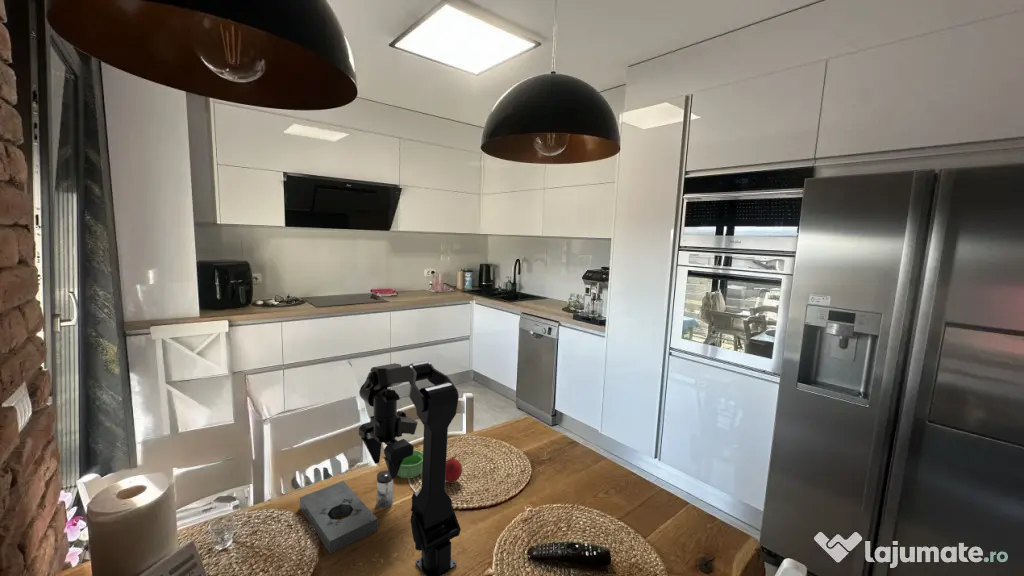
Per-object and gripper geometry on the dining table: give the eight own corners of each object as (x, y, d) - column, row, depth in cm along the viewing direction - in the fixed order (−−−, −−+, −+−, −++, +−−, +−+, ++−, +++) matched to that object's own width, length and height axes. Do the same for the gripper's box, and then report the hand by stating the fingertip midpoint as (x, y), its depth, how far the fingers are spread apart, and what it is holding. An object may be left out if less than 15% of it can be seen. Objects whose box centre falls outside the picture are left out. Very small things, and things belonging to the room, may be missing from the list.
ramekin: (416, 460, 128) (416, 446, 127) (430, 473, 121) (430, 459, 120) (389, 469, 122) (389, 455, 121) (401, 483, 115) (401, 469, 115)
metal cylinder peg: (395, 503, 106) (395, 475, 105) (381, 510, 103) (381, 481, 102) (388, 496, 109) (388, 468, 108) (374, 502, 106) (374, 474, 105)
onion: (457, 490, 113) (458, 463, 112) (438, 487, 114) (438, 460, 113) (464, 478, 119) (464, 452, 118) (445, 475, 120) (446, 450, 119)
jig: (377, 530, 96) (377, 518, 96) (330, 553, 89) (329, 541, 88) (343, 490, 110) (343, 480, 110) (300, 508, 103) (299, 497, 102)
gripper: (432, 416, 102) (431, 474, 104) (396, 394, 115) (395, 446, 117) (392, 429, 95) (391, 491, 96) (357, 404, 108) (358, 459, 109)
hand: (385, 470), depth 105 cm, fingers open, 9 cm apart
